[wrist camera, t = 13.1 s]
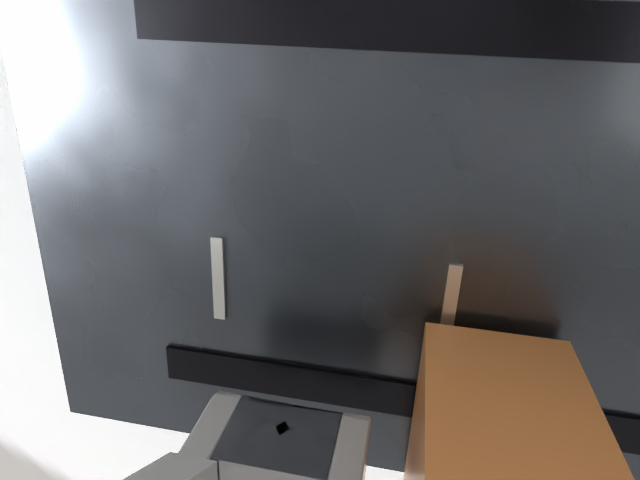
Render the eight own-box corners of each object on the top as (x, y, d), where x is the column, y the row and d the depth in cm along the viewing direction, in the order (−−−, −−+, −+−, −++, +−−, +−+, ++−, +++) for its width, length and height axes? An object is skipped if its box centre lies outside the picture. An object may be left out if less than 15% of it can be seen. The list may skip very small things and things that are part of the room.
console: (23, -303, 9) (-89, -396, 7) (1172, -386, 6) (1499, -568, 4) (115, 363, 14) (67, 414, 12) (754, 465, 12) (818, 551, 10)
